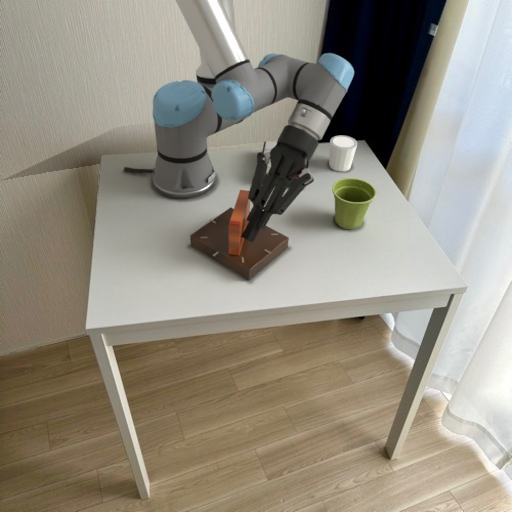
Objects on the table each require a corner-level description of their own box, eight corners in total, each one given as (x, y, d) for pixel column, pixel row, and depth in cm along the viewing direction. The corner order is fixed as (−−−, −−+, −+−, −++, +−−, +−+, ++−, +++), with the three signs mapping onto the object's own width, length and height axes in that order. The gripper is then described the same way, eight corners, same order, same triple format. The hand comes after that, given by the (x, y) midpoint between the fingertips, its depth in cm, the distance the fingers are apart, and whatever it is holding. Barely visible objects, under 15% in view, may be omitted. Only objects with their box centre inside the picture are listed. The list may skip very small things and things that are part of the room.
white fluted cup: (354, 160, 138) (358, 137, 133) (351, 174, 133) (356, 150, 128) (328, 156, 139) (331, 133, 134) (325, 170, 134) (328, 146, 129)
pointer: (239, 218, 113) (240, 188, 108) (249, 219, 113) (250, 189, 108) (228, 254, 104) (228, 224, 99) (239, 255, 104) (239, 225, 99)
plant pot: (367, 237, 114) (375, 205, 109) (325, 230, 116) (330, 199, 110) (369, 212, 121) (377, 181, 115) (329, 206, 122) (334, 175, 117)
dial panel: (184, 249, 109) (184, 238, 107) (234, 214, 119) (235, 203, 117) (244, 285, 102) (244, 274, 100) (292, 244, 112) (293, 233, 110)
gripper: (269, 114, 101) (213, 221, 103) (325, 136, 96) (265, 250, 97) (283, 129, 108) (230, 229, 109) (336, 151, 102) (280, 257, 104)
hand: (247, 239), depth 103 cm, fingers closed
